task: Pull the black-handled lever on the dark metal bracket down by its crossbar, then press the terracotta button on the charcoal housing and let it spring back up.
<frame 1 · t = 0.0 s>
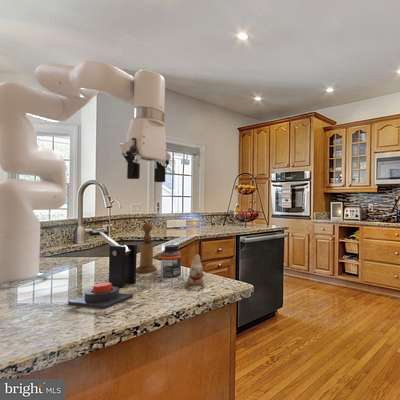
hand: (147, 180, 76), 31 cm above the counter, tool pointing down, fingers open, 9 cm apart
button: (102, 287, 67), point 5 cm above the counter, slide at 0.2 cm
button box: (101, 307, 67), on the counter
lever: (111, 242, 81), point 13 cm above the counter, hinge at 30.0°
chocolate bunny: (195, 287, 84), on the counter
supplement bottle: (170, 280, 91), on the counter
brown chess piece: (146, 275, 97), on the counter
bracket: (122, 290, 80), on the counter
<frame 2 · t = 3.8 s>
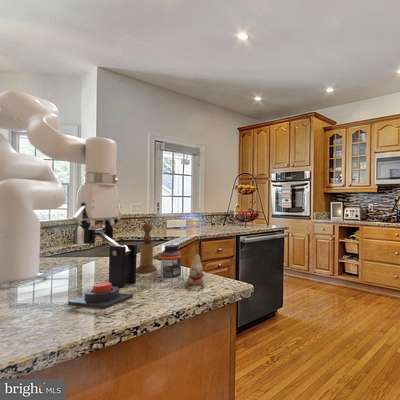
hand: (98, 241, 82), 13 cm above the counter, tool pointing down, fingers closed on lever, 5 cm apart
lever: (111, 242, 81), point 13 cm above the counter, hinge at 30.0°, touching gripper
everything else where it was.
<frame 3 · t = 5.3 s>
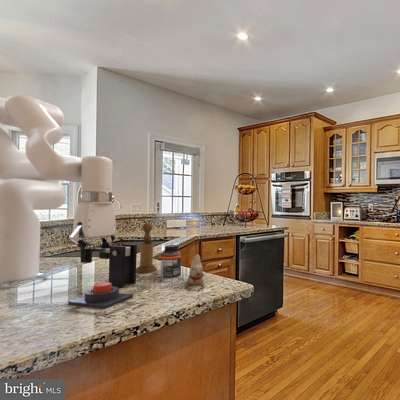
hand: (95, 259, 82), 8 cm above the counter, tool pointing down, fingers closed on lever, 5 cm apart
lever: (109, 250, 81), point 11 cm above the counter, hinge at 0.2°, touching gripper
everything else where it was.
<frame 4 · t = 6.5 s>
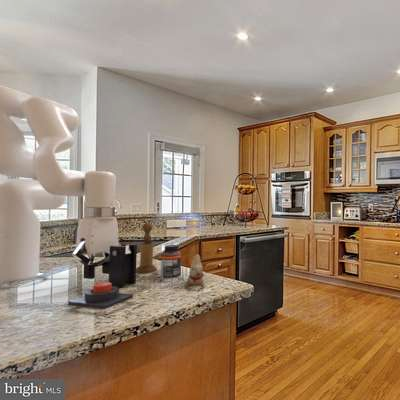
hand: (98, 275, 82), 4 cm above the counter, tool pointing down, fingers closed on lever, 5 cm apart
lever: (110, 257, 81), point 9 cm above the counter, hinge at -24.8°, touching gripper
everything else where it was.
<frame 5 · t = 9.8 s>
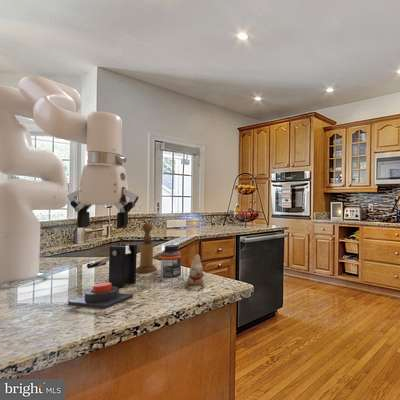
hand: (102, 227, 72), 19 cm above the counter, tool pointing down, fingers open, 9 cm apart
lever: (110, 257, 81), point 9 cm above the counter, hinge at -24.9°
everything else where it was.
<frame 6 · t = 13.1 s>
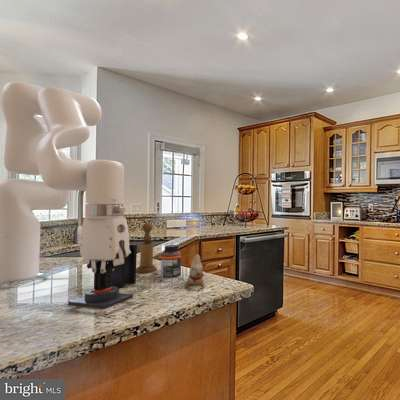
hand: (102, 288, 67), 4 cm above the counter, tool pointing down, fingers closed
button: (102, 292, 67), point 4 cm above the counter, slide at -0.8 cm, touching gripper
everything else where it was.
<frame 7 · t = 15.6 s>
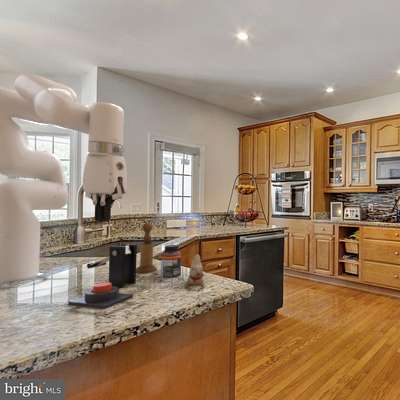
hand: (102, 220, 74), 20 cm above the counter, tool pointing down, fingers closed
button: (102, 288, 67), point 5 cm above the counter, slide at 0.2 cm
everything else where it was.
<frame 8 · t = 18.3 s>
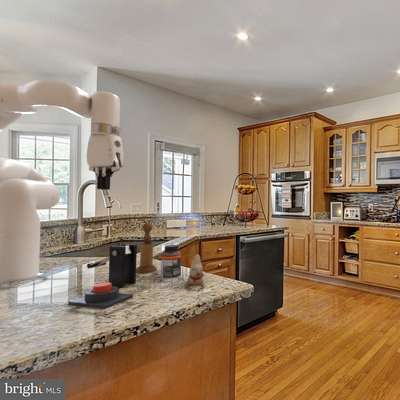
hand: (103, 189, 89), 29 cm above the counter, tool pointing down, fingers closed
nothing on the counter moved.
at the end: lever at -25° (first picture: +30°); button pushed in 1.1 cm at the most during the clip, back to 0.2 cm at the end; button slide at 0.2 cm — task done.
